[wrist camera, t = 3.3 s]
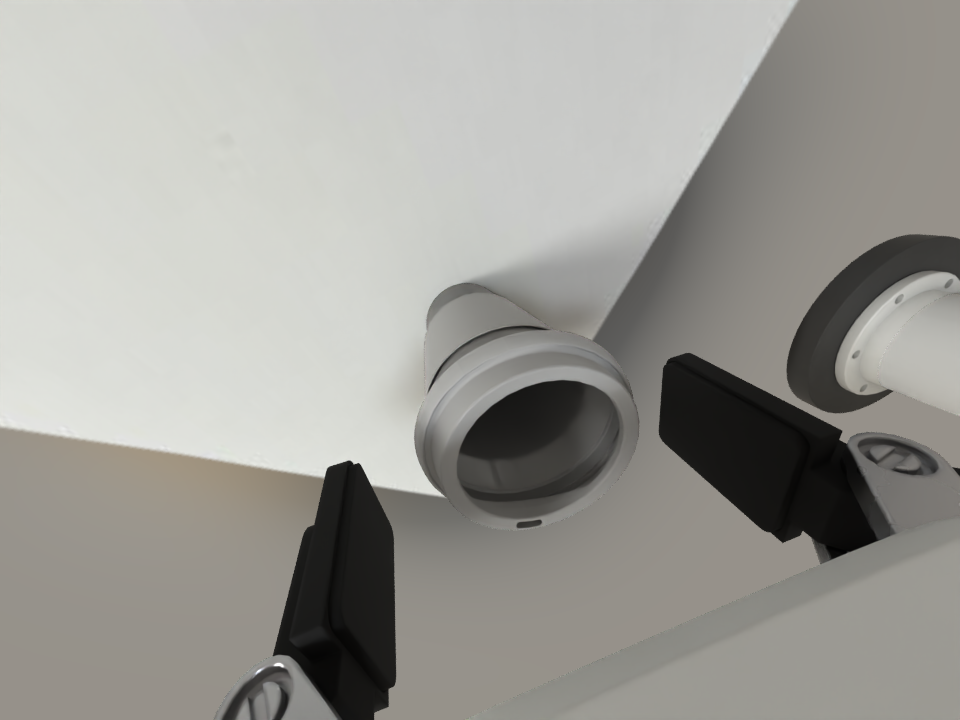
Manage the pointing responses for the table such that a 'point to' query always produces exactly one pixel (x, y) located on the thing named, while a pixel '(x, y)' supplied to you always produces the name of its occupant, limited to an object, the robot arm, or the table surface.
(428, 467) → the cup
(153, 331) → the table surface
